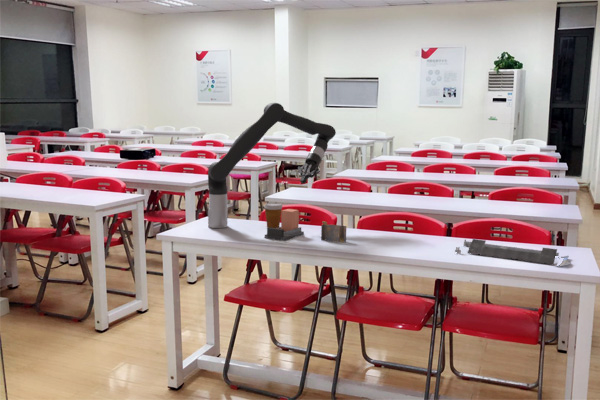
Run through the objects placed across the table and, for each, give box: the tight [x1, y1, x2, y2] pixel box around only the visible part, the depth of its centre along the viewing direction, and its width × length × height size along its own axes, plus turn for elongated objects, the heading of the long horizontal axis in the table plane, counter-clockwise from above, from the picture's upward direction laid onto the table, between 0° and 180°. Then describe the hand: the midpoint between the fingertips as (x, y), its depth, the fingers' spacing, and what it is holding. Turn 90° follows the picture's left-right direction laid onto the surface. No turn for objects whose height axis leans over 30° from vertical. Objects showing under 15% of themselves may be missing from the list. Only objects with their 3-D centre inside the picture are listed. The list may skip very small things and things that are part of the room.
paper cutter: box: [454, 238, 570, 267], centre depth 244 cm, size 18×45×6 cm, turn 59°
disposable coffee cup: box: [263, 202, 283, 228], centre depth 299 cm, size 10×10×12 cm
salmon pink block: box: [280, 208, 300, 231], centre depth 281 cm, size 6×6×10 cm
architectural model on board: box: [320, 221, 347, 243], centre depth 269 cm, size 11×3×10 cm, turn 68°
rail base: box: [264, 226, 305, 242], centre depth 277 cm, size 17×11×5 cm, turn 147°
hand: (302, 182), depth 292 cm, fingers closed
